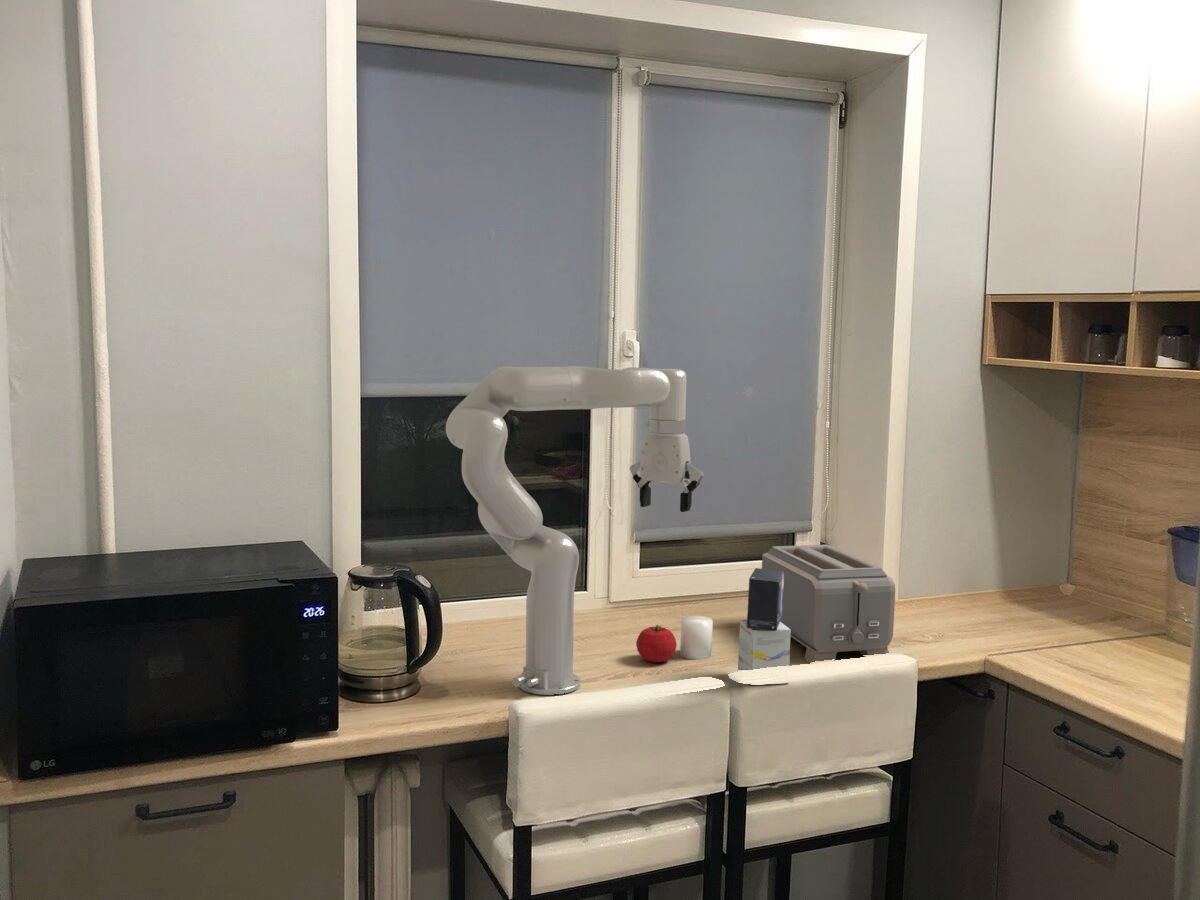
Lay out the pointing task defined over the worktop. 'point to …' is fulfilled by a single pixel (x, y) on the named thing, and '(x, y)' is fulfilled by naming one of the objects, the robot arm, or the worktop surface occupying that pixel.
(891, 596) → the toaster
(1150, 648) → the worktop surface
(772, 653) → the ink box
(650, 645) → the tomato
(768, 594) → the small box
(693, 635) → the white capsule cylinder
